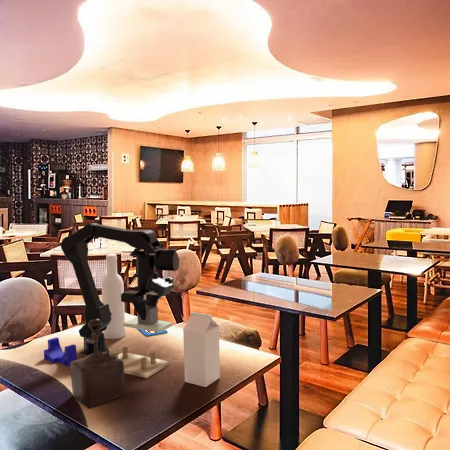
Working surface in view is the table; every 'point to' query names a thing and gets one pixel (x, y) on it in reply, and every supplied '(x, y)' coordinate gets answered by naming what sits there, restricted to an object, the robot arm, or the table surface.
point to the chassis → (140, 363)
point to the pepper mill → (97, 374)
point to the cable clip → (60, 352)
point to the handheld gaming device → (152, 333)
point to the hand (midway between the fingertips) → (147, 318)
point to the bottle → (113, 299)
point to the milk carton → (201, 350)
